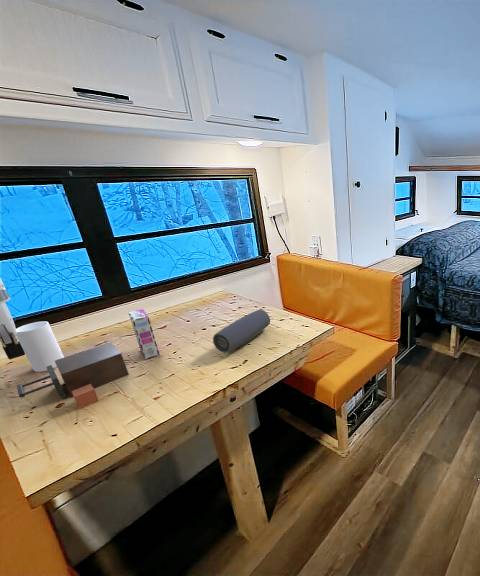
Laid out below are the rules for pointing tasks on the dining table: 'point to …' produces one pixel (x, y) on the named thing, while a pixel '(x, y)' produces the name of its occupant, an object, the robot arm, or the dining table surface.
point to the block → (85, 396)
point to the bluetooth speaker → (241, 331)
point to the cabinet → (92, 367)
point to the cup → (39, 345)
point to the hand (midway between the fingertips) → (17, 356)
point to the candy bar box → (144, 333)
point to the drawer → (54, 380)
